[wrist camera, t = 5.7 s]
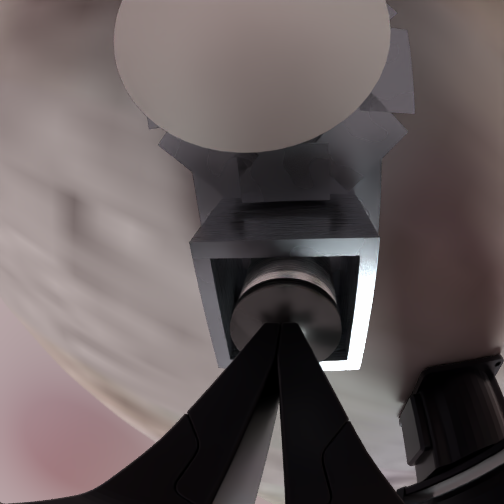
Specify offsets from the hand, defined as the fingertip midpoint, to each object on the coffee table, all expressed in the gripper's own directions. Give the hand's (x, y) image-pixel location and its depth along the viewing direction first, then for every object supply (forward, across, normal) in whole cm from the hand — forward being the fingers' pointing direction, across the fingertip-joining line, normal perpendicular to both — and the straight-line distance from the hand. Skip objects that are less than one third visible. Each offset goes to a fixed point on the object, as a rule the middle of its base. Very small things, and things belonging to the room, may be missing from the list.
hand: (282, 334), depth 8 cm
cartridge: (+5, 0, -7) cm, 8 cm away
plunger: (+5, 0, 0) cm, 5 cm away
